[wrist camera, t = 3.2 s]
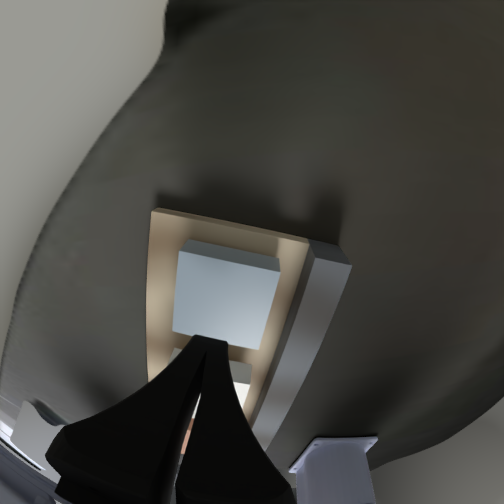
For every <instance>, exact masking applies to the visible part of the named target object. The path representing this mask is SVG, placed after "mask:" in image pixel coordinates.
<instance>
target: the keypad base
mask: <svg viewBox="0 0 504 504" xmlns="http://www.w3.org/2000/svg"><path fill="white" fill-rule="evenodd" d="M188 239H191V240H195V241H200V242H205V243H210V244H214V245H219V246H224V247H229V248H233V249H238V250H243V251H247V252H252V253H257V254H262V255H266V256H271V257H276V258H279V261H280V270H281V273H280V277H279V281H278V284H277V288H276V291H275V295H274V298H273V302H272V305H271V309H270V312H269V316H268V319H267V323H266V326H265V329H264V333H263V336H262V339H261V343H260V346H259V349H258V350H256V349H251V348H245V347H240V346H235V345H230V344H228V356H229V360H230V361H236V362H241V363H246V364H252V369H251V382H250V387H249V390H248V393H247V396H246V399H245V402H244V405H243V408H242V410H243V412H244V415H245V417H246V419H247V421H248V423H249V425H250V427H251V429H252V431H253V433H254V435H255V437H256V439H257V440H258V442H259V444H260V445H261V447H262V449H263V450H264V452H265V451H266V449H267V447H268V446H269V444H270V442H271V441H272V439H273V437H274V436H275V434H276V432H277V430H278V429H279V427H280V425H281V423H282V421H283V420H284V418H285V416H286V414H287V412H288V410H289V409H290V407H291V405H292V403H293V401H294V399H295V397H296V395H297V393H298V391H299V389H300V387H301V385H302V383H303V381H304V379H305V377H306V375H307V373H308V371H309V369H310V367H311V365H312V363H313V361H314V358H315V356H316V354H317V352H318V350H319V347H320V345H321V343H322V341H323V338H324V336H325V334H326V332H327V329H328V327H329V325H330V322H331V320H332V317H333V315H334V312H335V310H336V308H337V305H338V303H339V300H340V297H341V295H342V292H343V290H344V287H345V284H346V282H347V279H348V276H349V274H350V271H351V268H352V265H351V263H350V262H349V260H348V259H347V257H346V256H345V254H344V253H343V251H342V250H341V249H340V247H339V246H338V245H333V244H329V243H325V242H321V241H316V240H312V239H307V238H303V237H299V236H294V235H290V234H285V233H281V232H276V231H272V230H267V229H262V228H258V227H253V226H248V225H244V224H239V223H234V222H229V221H224V220H220V219H215V218H210V217H205V216H200V215H195V214H190V213H185V212H179V211H174V210H169V209H164V208H156V209H154V210H153V211H152V213H151V224H150V235H149V249H148V267H147V297H146V335H147V364H148V381H149V382H150V381H151V380H152V379H153V378H155V377H156V376H157V375H158V374H159V373H160V372H161V371H162V370H163V369H164V368H166V367H167V364H168V362H169V359H170V357H171V355H172V352H173V350H174V348H178V349H183V348H184V347H185V346H186V345H187V343H188V342H189V341H190V339H191V338H192V336H190V335H186V334H182V333H178V332H174V331H172V328H173V312H174V299H175V287H176V276H177V266H178V256H179V250H180V249H181V248H182V247H183V245H184V244H185V243H186V242H187V240H188Z"/></svg>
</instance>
